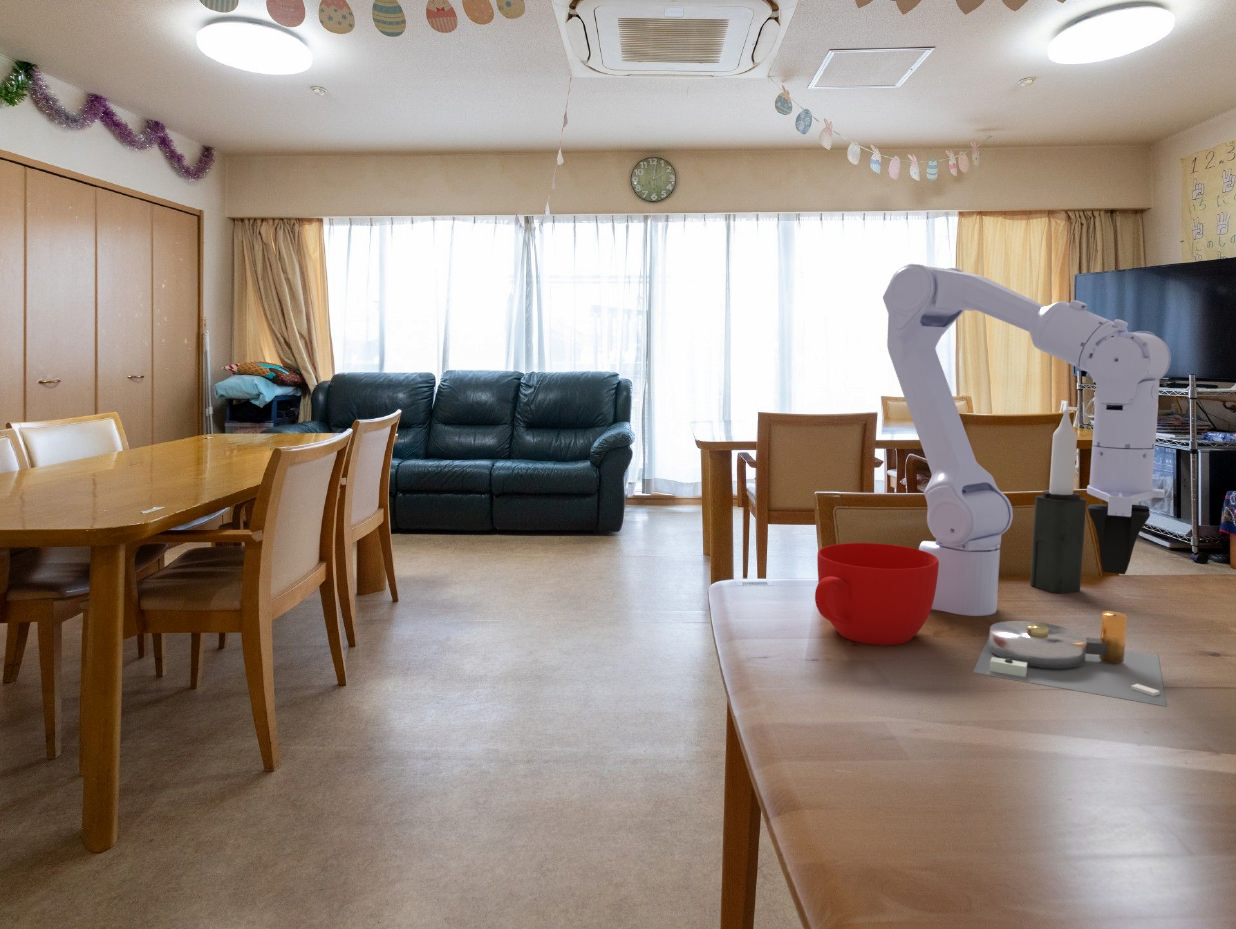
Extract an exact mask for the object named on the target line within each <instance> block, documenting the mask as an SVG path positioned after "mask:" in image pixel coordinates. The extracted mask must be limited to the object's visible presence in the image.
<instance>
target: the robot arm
mask: <svg viewBox="0 0 1236 929" xmlns="http://www.w3.org/2000/svg"><path fill="white" fill-rule="evenodd" d="M882 300H883V303H884V305H885V308H886V311H887V313H888V314H887V315H888V317H887V339H886V340H887V342H886V343H887V344H886V345H887V350H888V351H887V352H888V354H889V357H890V361H891V363H892V365H893V368H894V372H895V374H896V377H897V380H898V383H899V386H900V387H901V391H902V395H903V396H904V400H905V402H906V405H907V408H908V411H909V414H910V416H911V420H912V422H913V425H914V427H915V431H916V434H917V437H918V440H919V442H920V445H921V447H922V448H921V449H922V451H923V453H924V456H925V459H926V462H927V465H928V467H929V470H930V474H931V477H930V479H929V482H928V483H927V485H926V487H925V489H924V491H923V494H924V497H925V500H926V505H927V514H926V522H927V526H928V530H929V531H930V533H931V535H932V536H933V537H934V538H935V541H932V540H923V541H921V543H919V547H918V550H922V551H925V552H928V553H930V554H932V555H934V556H936V557H937V559H938V561H939V567H938V577H937V585H936V591H935V596H934V601H933V605H932V608H931V610H935V611H942V612H945V613H950V614H955V615H960V616H961V615H962V616H971V617H974V616H975V617H976V616H977V617H981V616H991V615H994V614H996V613H997V608H998V606H997V605H998V594H999V592H998V591H999V590H998V588H999V576H1000V575H999V574H1000V572H999V571H1000V557H1001V543H1002V535H1003V534H1005V533H1006V532H1007V531H1008V529H1010V527H1011V525H1012V522H1013V518H1014V510H1013V506H1012V503H1011V501H1010V500H1009V498H1008V497H1007V496H1006V495H1005V494H1004V493H1003V492H1002V491H1001V490H1000V489H999V487H998V486H997V484H996V481H995V479H994V477H993V475H992V474H991V473H990V472H988V471H987V470H986V469H985V468H984V467H982V466H981V464H979V463H978V461H977V459H976V456H975V455H974V451H973V449H972V448H973V447H972V445H971V443H970V441H969V438H968V435H967V432H966V429H965V427H964V424H963V420H962V419H961V415H960V414H959V410H958V407H957V405H956V403H955V399H954V396H953V393H952V391H951V389H950V386H949V383H948V381H947V377H946V375H945V372H944V370H943V367H942V364H941V361H940V358H939V355H938V353H937V351H936V350H937V349H936V347H937V345H938V343H939V341H940V339H941V337H942V336H943V335H944V334H945V333H946V332H947V330H949V328H951V326H952V325H953V324H954V323H955V322H956V321H957V320H958V319H959V318H960V316H962V314H964V312H965V311H970V312H972V311H978V312H979V313H983V314H985V315H987V316H990V317H992V318H994V319H997V320H999V321H1002V322H1005V323H1007V324H1008V325H1012V326H1014V327H1017V328H1018V329H1019V328H1020V330H1024V331H1026V332H1029V335H1030V339H1031V342H1032V345H1033V346H1034V347H1035V348H1036V349H1038V350H1039V351H1041V352H1044V353H1046V354H1048V355H1050V356H1053V357H1054V358H1056V359H1058V360H1061V361H1063V362H1065V363H1068V364H1069V365H1071V366H1073V367H1076V368H1078V369H1080V370H1082V371H1085V372H1088V374H1089V376H1090V378H1091V379H1092V380H1093V382H1094V383H1095V385H1096V388H1095V390H1096V391H1095V403H1094V413H1093V414H1094V416H1093V429H1092V443H1091V444H1092V445H1091V454H1090V455H1091V457H1090V470H1089V472H1090V474H1089V484H1088V485H1087V486H1086V487H1087V488H1086V493H1087V494H1088V495H1090V496H1093V497H1096V498H1097V499H1099V500H1102V501H1105V502H1107V503H1106V504H1100V503H1099V504H1098V503H1096V504H1095V503H1094V504H1093V503H1092V504H1089V505H1088V508H1087V512H1088V514H1089V517H1090V518H1091V521H1092V523H1093V526H1094V528H1095V532H1096V536H1097V541H1098V550H1099V559H1100V565H1101V569H1102V572H1103V573H1106V574H1117V575H1126V573H1127V571H1128V567H1129V565H1130V562H1131V559H1132V554H1133V550H1134V547H1135V544H1136V542H1137V538H1138V536H1139V535H1140V532H1141V530H1142V529H1143V527H1144V525H1145V524H1146V523H1147V521H1148V520H1149V519H1150V517H1151V513H1150V507H1149V506H1147V505H1144V504H1143V505H1141V504H1136V503H1140V502H1143V501H1147V500H1150V499H1153V498H1157V499H1162V498H1163V499H1164V498H1165V494H1166V491H1165V489H1162V488H1153V480H1154V479H1153V477H1154V476H1153V474H1154V465H1155V452H1156V451H1155V450H1156V441H1157V440H1156V439H1157V428H1158V427H1157V426H1158V425H1157V424H1158V413H1159V412H1158V410H1159V392H1160V380H1161V379H1163V377H1164V376H1165V375H1166V374H1167V372H1168V370H1169V368H1170V365H1171V362H1172V356H1171V352H1170V348H1169V347H1168V346H1169V345H1167V343H1166V342H1165V341H1164V340H1163V339H1161V338H1160V337H1158V336H1157V335H1155V334H1154V333H1153V332H1151V331H1146V330H1143V331H1142V330H1139V331H1133V332H1129V331H1128V328H1127V327H1129V326H1128V325H1129V322H1127V321H1125V320H1122V319H1118V318H1117V319H1114V321H1112V320H1110V319H1107V318H1105V317H1102V316H1100V315H1098V314H1095V313H1094V312H1091V311H1089V310H1086V309H1087V308H1088V304H1087V303H1085V302H1082V301H1080V300H1076V299H1074V300H1073V299H1071V300H1070V302H1067V301H1065V300H1062V301H1057V302H1054V303H1052V304H1050V305H1046V306H1045V305H1043V304H1042V303H1040V302H1038V301H1035V300H1034V299H1031V298H1029V297H1027V296H1025V295H1023V294H1021V293H1018V292H1016V291H1014V290H1013V289H1012V288H1011V289H1010V288H1009V287H1006V286H1004V285H1002V284H1000V283H998V282H996V281H994V280H992V279H990V278H988V277H985V276H983V275H979V274H976V273H971V272H966V271H963V270H962V269H959V268H955V267H950V268H949V267H948V268H944V267H943V268H942V267H935V266H926V265H924V264H919V263H907V264H905V265H903V266H901V267H900V268H899V269H897V271H896V272H895V273H894V274H893V276H892V277H891V280H890V281H889V283H888V285H887V287H886V290H885V291H884V294H883V296H882Z"/></svg>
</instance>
